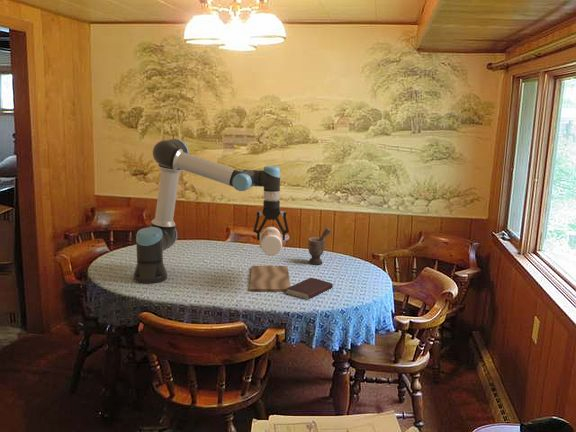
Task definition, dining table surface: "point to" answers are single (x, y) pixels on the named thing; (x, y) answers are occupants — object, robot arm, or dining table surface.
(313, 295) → the book
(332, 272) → the dining table surface
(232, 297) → the dining table surface
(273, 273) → the walnut board
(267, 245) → the fruit juice
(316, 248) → the mortar and pestle
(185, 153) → the robot arm
